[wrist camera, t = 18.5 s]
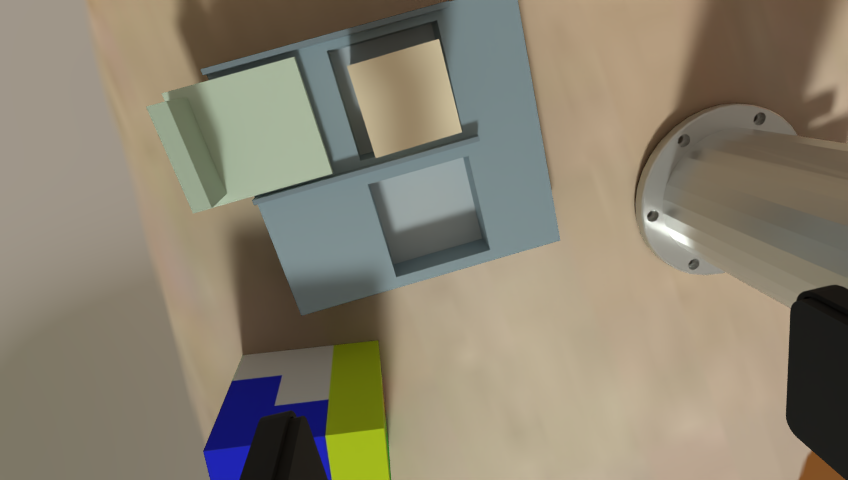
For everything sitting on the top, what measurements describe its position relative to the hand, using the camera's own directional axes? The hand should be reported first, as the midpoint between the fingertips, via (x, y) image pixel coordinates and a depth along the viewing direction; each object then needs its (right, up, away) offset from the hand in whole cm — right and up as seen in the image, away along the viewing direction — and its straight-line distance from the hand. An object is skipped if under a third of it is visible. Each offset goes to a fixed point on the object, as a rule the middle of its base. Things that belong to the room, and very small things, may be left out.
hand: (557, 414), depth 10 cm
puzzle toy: (-11, -9, +30) cm, 33 cm away
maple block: (-4, +13, +22) cm, 26 cm away
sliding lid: (-12, +9, +20) cm, 25 cm away
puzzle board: (-4, +9, +24) cm, 26 cm away
